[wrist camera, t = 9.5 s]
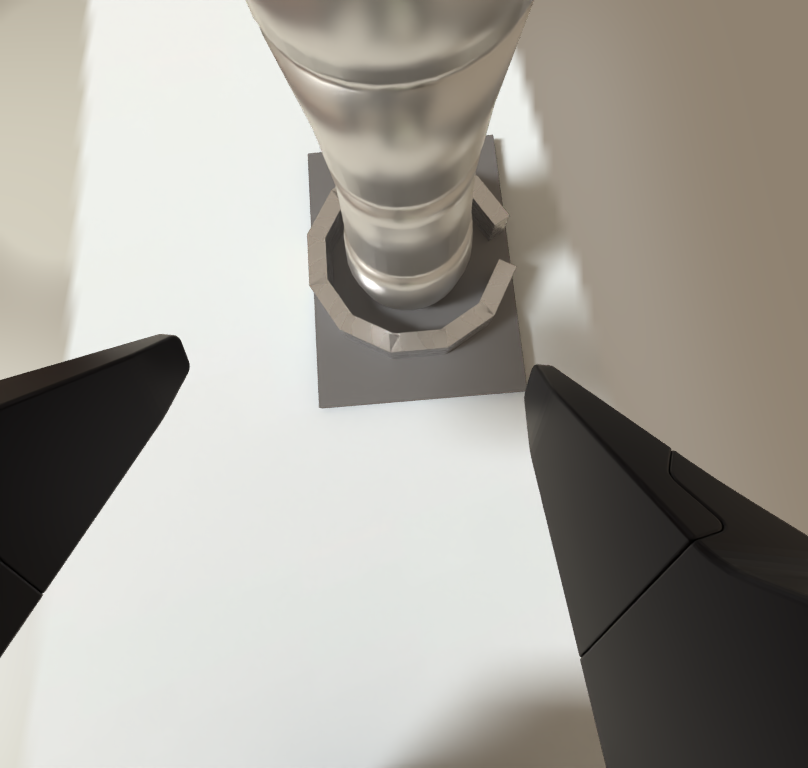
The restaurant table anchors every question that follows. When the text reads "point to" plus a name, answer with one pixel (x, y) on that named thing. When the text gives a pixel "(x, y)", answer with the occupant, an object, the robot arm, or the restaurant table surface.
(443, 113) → the plastic bottle
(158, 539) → the restaurant table surface
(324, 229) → the split ring
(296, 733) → the restaurant table surface
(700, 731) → the robot arm
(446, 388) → the ring mat
